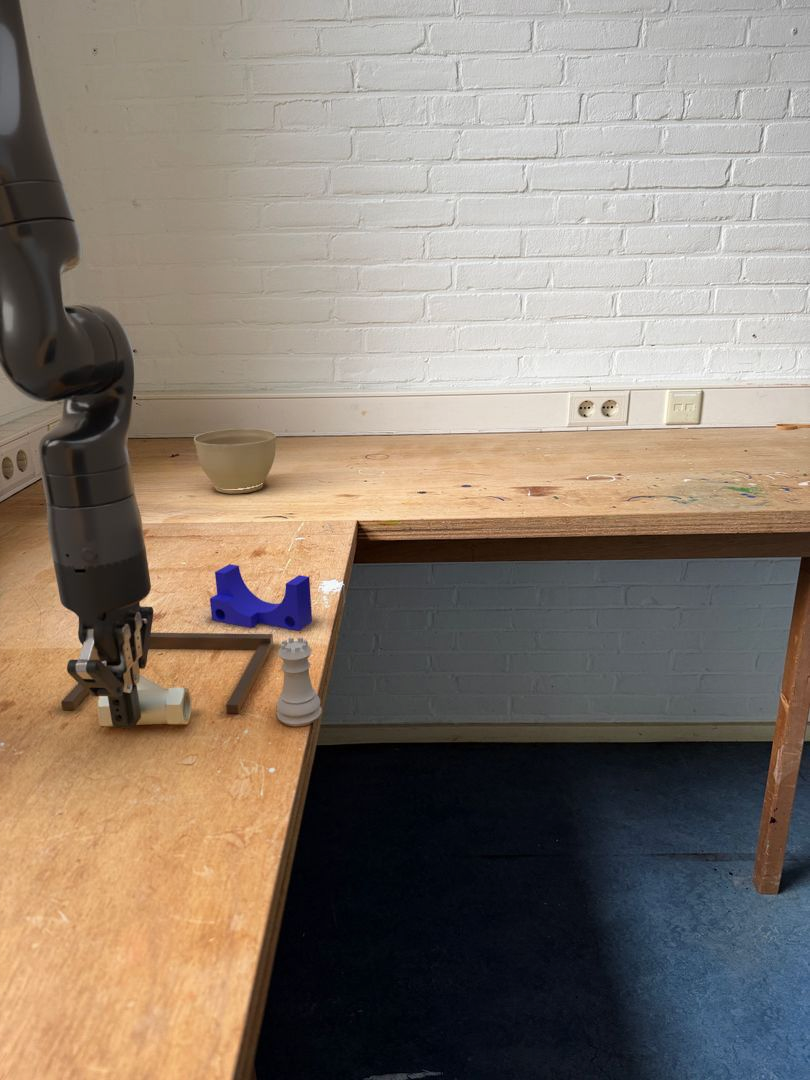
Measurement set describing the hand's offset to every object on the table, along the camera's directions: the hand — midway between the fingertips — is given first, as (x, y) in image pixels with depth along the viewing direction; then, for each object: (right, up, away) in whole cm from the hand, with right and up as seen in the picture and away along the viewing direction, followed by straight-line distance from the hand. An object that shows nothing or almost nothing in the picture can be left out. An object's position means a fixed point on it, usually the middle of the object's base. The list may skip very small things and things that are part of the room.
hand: (127, 723), depth 74 cm
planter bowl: (-8, +27, +88) cm, 93 cm away
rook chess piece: (+15, -1, +5) cm, 16 cm away
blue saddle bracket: (+8, +7, +26) cm, 28 cm away
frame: (+1, +2, +13) cm, 13 cm away
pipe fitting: (+1, -1, +5) cm, 5 cm away
